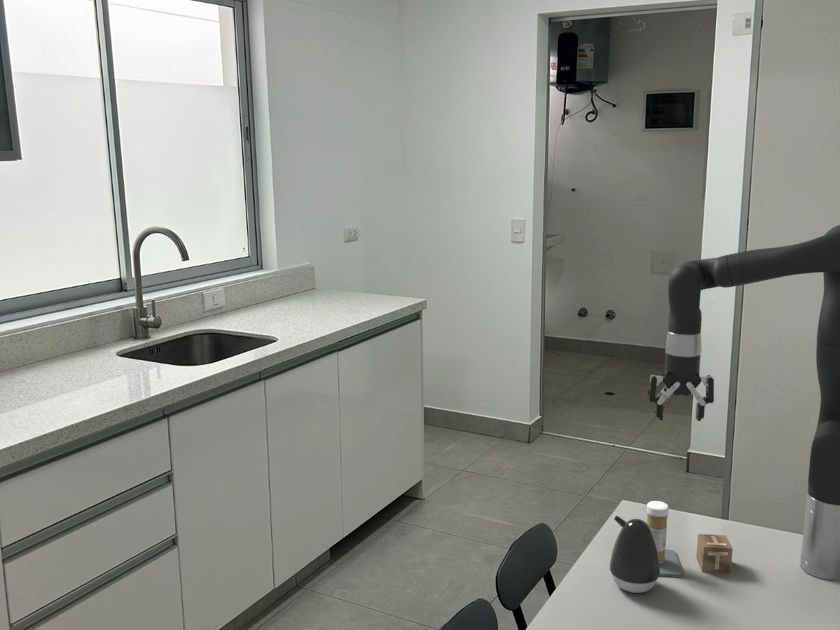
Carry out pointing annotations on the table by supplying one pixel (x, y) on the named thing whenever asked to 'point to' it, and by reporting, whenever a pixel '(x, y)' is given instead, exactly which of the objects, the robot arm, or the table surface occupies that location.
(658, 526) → the sprinkles bottle
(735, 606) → the table surface
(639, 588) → the pump dispenser
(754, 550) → the table surface
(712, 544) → the walnut letter cube
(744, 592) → the table surface
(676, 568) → the blue-grey square plate
